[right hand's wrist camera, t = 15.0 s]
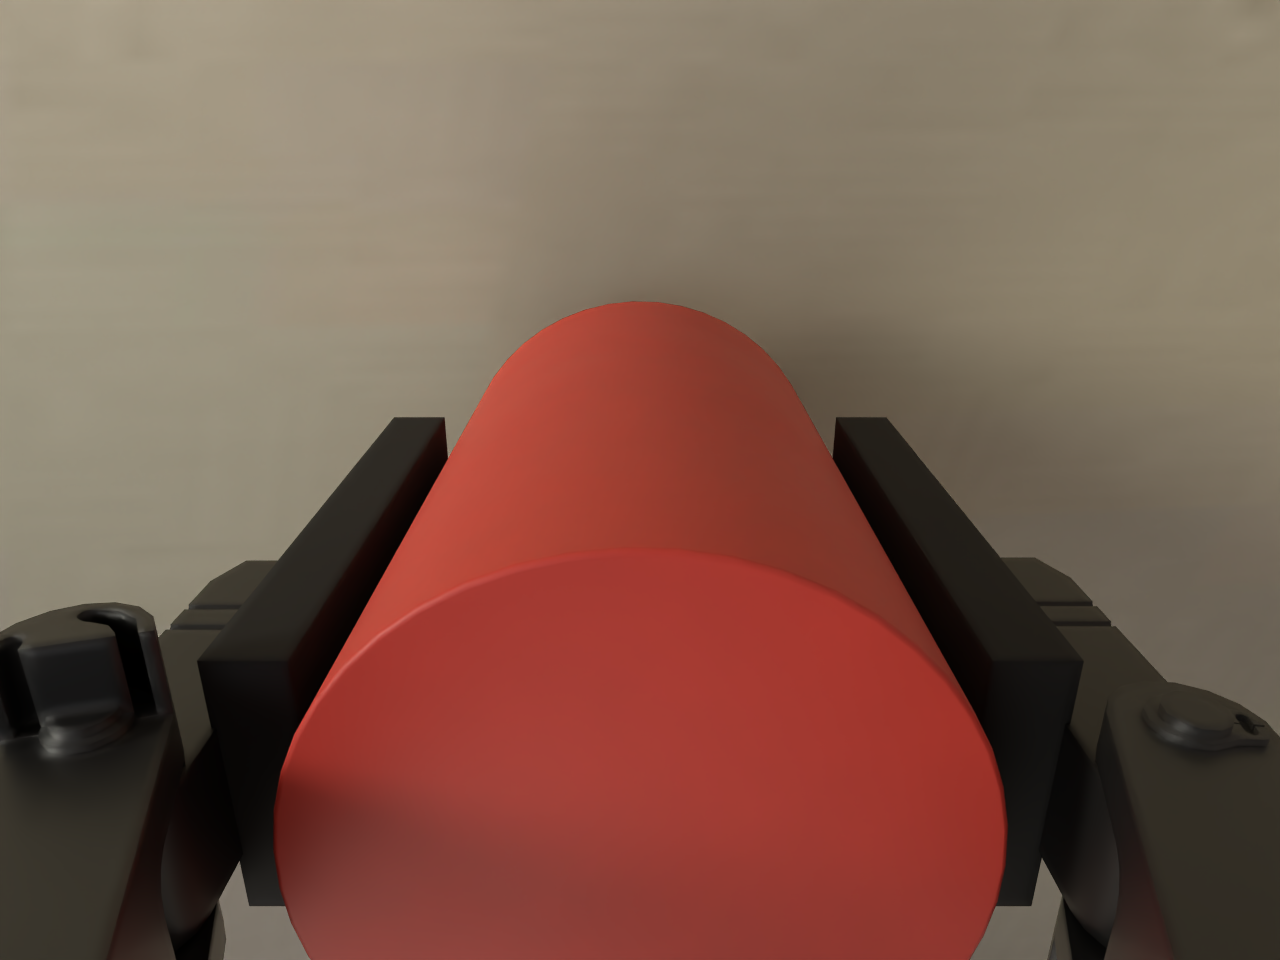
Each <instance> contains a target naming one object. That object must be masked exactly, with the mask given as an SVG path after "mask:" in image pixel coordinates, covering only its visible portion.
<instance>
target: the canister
mask: <svg viewBox="0 0 1280 960" xmlns="http://www.w3.org/2000/svg"><path fill="white" fill-rule="evenodd" d="M1007 832H1008V821H1007V812H1006V803H1005V794H1004V786H1003V783H1002V779H1001V776H1000V773H999V769H998V766H997V762H996V759H995V755H994V752H993V749H992V747H991V745H990V743H989V740H988V738H987V736H986V734H985V732H984V730H983V728H982V726H981V724H980V722H979V720H978V718H977V716H976V714H975V712H974V710H973V708H972V706H971V705H970V703H969V701H968V699H967V697H966V696H965V694H964V692H963V690H962V689H961V687H960V685H959V683H958V681H957V680H956V678H955V676H954V674H953V673H952V671H951V669H950V667H949V665H948V664H947V662H946V660H945V658H944V656H943V655H942V653H941V651H940V649H939V648H938V646H937V644H936V642H935V640H934V639H933V637H932V635H931V633H930V631H929V630H928V628H927V626H926V624H925V623H924V621H923V619H922V617H921V615H920V614H919V612H918V610H917V608H916V606H915V605H914V603H913V601H912V599H911V598H910V596H909V594H908V592H907V590H906V589H905V587H904V585H903V583H902V582H901V580H900V578H899V576H898V574H897V573H896V571H895V569H894V567H893V565H892V564H891V562H890V560H889V558H888V557H887V555H886V553H885V551H884V549H883V548H882V546H881V544H880V542H879V540H878V539H877V537H876V535H875V533H874V532H873V530H872V528H871V526H870V524H869V523H868V521H867V519H866V517H865V515H864V514H863V512H862V510H861V508H860V507H859V505H858V503H857V501H856V499H855V498H854V496H853V494H852V492H851V491H850V489H849V487H848V485H847V483H846V482H845V480H844V478H843V476H842V474H841V473H840V471H839V469H838V467H837V466H836V464H835V462H834V460H833V458H832V457H831V455H830V453H829V451H828V449H827V448H826V446H825V444H824V442H823V441H822V439H821V437H820V435H819V433H818V432H817V430H816V428H815V426H814V424H813V423H812V421H811V419H810V417H809V416H808V414H807V412H806V410H805V408H804V407H803V405H802V403H801V401H800V400H799V398H798V396H797V394H796V392H795V391H794V389H793V387H792V385H791V384H790V382H789V381H788V379H787V378H786V376H785V375H784V374H783V372H782V371H781V369H780V368H779V366H778V365H777V364H776V363H775V362H774V361H773V360H772V359H771V358H770V356H769V355H768V354H767V353H766V352H765V351H764V350H763V349H762V348H761V347H759V346H758V345H757V344H756V343H755V342H753V341H752V340H751V339H750V338H749V337H747V336H746V335H745V334H743V333H742V332H740V331H738V330H737V329H735V328H734V327H732V326H730V325H729V324H727V323H726V322H723V321H721V320H719V319H717V318H714V317H712V316H710V315H708V314H705V313H703V312H700V311H696V310H693V309H689V308H686V307H683V306H678V305H672V304H665V303H659V302H624V303H614V304H607V305H603V306H599V307H595V308H590V309H586V310H583V311H581V312H578V313H576V314H573V315H570V316H568V317H565V318H563V319H561V320H559V321H557V322H556V323H554V324H552V325H550V326H548V327H546V328H545V329H543V330H541V331H540V332H539V333H537V334H536V335H535V336H533V337H532V338H531V339H529V340H528V341H527V342H525V343H524V344H523V345H522V346H521V347H520V348H519V349H518V350H517V351H516V352H515V353H514V354H513V355H512V356H511V357H510V358H509V359H508V360H507V361H506V362H505V363H504V365H503V366H502V367H501V369H500V370H499V371H498V372H497V374H496V375H495V376H494V378H493V380H492V381H491V383H490V385H489V387H488V388H487V390H486V392H485V394H484V395H483V397H482V399H481V401H480V402H479V404H478V406H477V408H476V410H475V411H474V413H473V415H472V417H471V419H470V420H469V422H468V424H467V426H466V428H465V429H464V431H463V433H462V435H461V437H460V438H459V440H458V442H457V444H456V445H455V447H454V449H453V451H452V453H451V454H450V456H449V458H448V460H447V462H446V463H445V465H444V467H443V469H442V471H441V472H440V474H439V476H438V478H437V480H436V481H435V483H434V485H433V487H432V488H431V490H430V492H429V494H428V496H427V497H426V499H425V501H424V503H423V505H422V506H421V508H420V510H419V512H418V514H417V515H416V517H415V519H414V521H413V523H412V524H411V526H410V528H409V530H408V531H407V533H406V535H405V537H404V539H403V540H402V542H401V544H400V546H399V548H398V549H397V551H396V553H395V555H394V557H393V558H392V560H391V562H390V564H389V566H388V567H387V569H386V571H385V573H384V575H383V576H382V578H381V580H380V582H379V583H378V585H377V587H376V589H375V591H374V592H373V594H372V596H371V598H370V600H369V601H368V603H367V605H366V607H365V609H364V610H363V612H362V614H361V616H360V618H359V619H358V621H357V623H356V625H355V626H354V628H353V630H352V632H351V634H350V635H349V637H348V639H347V641H346V643H345V644H344V646H343V648H342V650H341V652H340V653H339V655H338V657H337V659H336V661H335V662H334V664H333V666H332V668H331V669H330V671H329V673H328V675H327V677H326V678H325V680H324V682H323V684H322V686H321V687H320V689H319V691H318V693H317V695H316V696H315V698H314V700H313V702H312V704H311V705H310V707H309V709H308V711H307V712H306V714H305V716H304V718H303V720H302V721H301V723H300V725H299V727H298V729H297V730H296V732H295V734H294V737H293V739H292V742H291V745H290V747H289V750H288V753H287V756H286V758H285V761H284V764H283V767H282V769H281V772H280V778H279V783H278V789H277V794H276V800H275V805H274V824H273V851H274V857H275V864H276V870H277V876H278V882H279V888H280V891H281V894H282V897H283V900H284V903H285V906H286V909H287V912H288V915H289V918H290V921H291V924H292V925H293V927H294V929H295V931H296V933H297V935H298V937H299V939H300V941H301V943H302V945H303V947H304V949H305V951H306V953H307V954H308V956H309V958H310V959H311V960H970V958H971V956H972V954H973V953H974V951H975V949H976V948H977V946H978V944H979V943H980V941H981V939H982V938H983V936H984V933H985V931H986V928H987V926H988V923H989V921H990V919H991V916H992V914H993V911H994V909H995V906H996V904H997V901H998V896H999V892H1000V888H1001V883H1002V879H1003V875H1004V870H1005V866H1006V850H1007Z"/></svg>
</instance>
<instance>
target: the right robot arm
mask: <svg viewBox="0 0 1280 960" xmlns="http://www.w3.org/2000/svg"><path fill="white" fill-rule="evenodd" d="M447 460H448V453H447V441H446V430H445V418H444V417H394V418H393V420H392V421H391V422H390V423H389V425H388V426H387V427H386V428H385V429H384V431H383V432H382V433H381V434H380V436H379V437H378V438H377V439H376V441H375V442H374V443H373V444H372V445H371V447H370V448H369V449H368V450H367V452H366V453H365V454H364V455H363V457H362V458H361V459H360V460H359V462H358V463H357V464H356V465H355V466H354V468H353V469H352V470H351V471H350V473H349V474H348V475H347V476H346V478H345V479H344V480H343V481H342V482H341V484H340V485H339V486H338V487H337V489H336V490H335V491H334V492H333V494H332V495H331V496H330V497H329V498H328V500H327V501H326V502H325V503H324V505H323V506H322V507H321V508H320V510H319V511H318V512H317V513H316V514H315V516H314V517H313V518H312V519H311V521H310V522H309V523H308V524H307V526H306V527H305V528H304V529H303V531H302V532H301V533H300V534H299V535H298V537H297V538H296V539H295V540H294V542H293V543H292V544H291V545H290V547H289V548H288V549H287V550H286V551H285V553H284V554H283V555H282V556H281V558H280V559H279V560H278V561H245V562H243V563H242V564H240V565H238V566H236V567H235V568H233V569H231V570H229V571H228V572H226V573H224V574H222V575H220V576H219V577H217V578H215V579H213V580H212V581H210V582H209V583H208V585H207V586H206V587H205V588H204V589H203V590H202V591H201V592H200V593H199V594H198V595H197V597H196V598H195V599H194V600H193V601H192V602H191V603H190V604H189V610H184V611H183V612H182V613H181V614H180V615H179V616H178V617H177V618H176V619H175V620H174V621H173V623H172V624H171V628H170V630H165V631H164V632H163V633H162V635H161V636H160V637H159V638H158V635H157V630H156V626H155V622H154V617H153V616H152V615H151V614H149V613H148V612H146V611H145V610H144V609H142V608H141V607H139V606H133V605H127V604H122V603H116V602H114V603H94V604H82V605H77V606H72V607H68V608H63V609H58V610H53V611H49V612H46V613H43V614H41V615H38V616H35V617H32V618H30V619H27V620H24V621H21V622H18V623H16V624H14V625H12V626H10V627H9V628H7V629H5V630H3V631H1V632H0V960H223V958H224V951H225V943H226V935H225V928H224V921H223V916H222V912H221V908H220V903H219V898H220V896H221V894H222V892H223V890H224V889H225V887H226V885H227V883H228V881H229V879H230V877H231V875H232V874H233V872H234V870H235V868H236V866H237V864H238V862H239V861H240V865H241V869H242V874H243V879H244V883H245V888H246V893H247V897H248V902H249V906H285V903H284V900H283V897H282V894H281V891H280V888H279V882H278V876H277V870H276V864H275V857H274V851H273V824H274V805H275V800H276V794H277V789H278V783H279V778H280V772H281V769H282V767H283V764H284V761H285V758H286V756H287V753H288V750H289V747H290V745H291V742H292V739H293V737H294V734H295V732H296V730H297V729H298V727H299V725H300V723H301V721H302V720H303V718H304V716H305V714H306V712H307V711H308V709H309V707H310V705H311V704H312V702H313V700H314V698H315V696H316V695H317V693H318V691H319V689H320V687H321V686H322V684H323V682H324V680H325V678H326V677H327V675H328V673H329V671H330V669H331V668H332V666H333V664H334V662H335V661H336V659H337V657H338V655H339V653H340V652H341V650H342V648H343V646H344V644H345V643H346V641H347V639H348V637H349V635H350V634H351V632H352V630H353V628H354V626H355V625H356V623H357V621H358V619H359V618H360V616H361V614H362V612H363V610H364V609H365V607H366V605H367V603H368V601H369V600H370V598H371V596H372V594H373V592H374V591H375V589H376V587H377V585H378V583H379V582H380V580H381V578H382V576H383V575H384V573H385V571H386V569H387V567H388V566H389V564H390V562H391V560H392V558H393V557H394V555H395V553H396V551H397V549H398V548H399V546H400V544H401V542H402V540H403V539H404V537H405V535H406V533H407V531H408V530H409V528H410V526H411V524H412V523H413V521H414V519H415V517H416V515H417V514H418V512H419V510H420V508H421V506H422V505H423V503H424V501H425V499H426V497H427V496H428V494H429V492H430V490H431V488H432V487H433V485H434V483H435V481H436V480H437V478H438V476H439V474H440V472H441V471H442V469H443V467H444V465H445V463H446V462H447ZM833 460H834V462H835V464H836V466H837V467H838V469H839V471H840V473H841V474H842V476H843V478H844V480H845V482H846V483H847V485H848V487H849V489H850V491H851V492H852V494H853V496H854V498H855V499H856V501H857V503H858V505H859V507H860V508H861V510H862V512H863V514H864V515H865V517H866V519H867V521H868V523H869V524H870V526H871V528H872V530H873V532H874V533H875V535H876V537H877V539H878V540H879V542H880V544H881V546H882V548H883V549H884V551H885V553H886V555H887V557H888V558H889V560H890V562H891V564H892V565H893V567H894V569H895V571H896V573H897V574H898V576H899V578H900V580H901V582H902V583H903V585H904V587H905V589H906V590H907V592H908V594H909V596H910V598H911V599H912V601H913V603H914V605H915V606H916V608H917V610H918V612H919V614H920V615H921V617H922V619H923V621H924V623H925V624H926V626H927V628H928V630H929V631H930V633H931V635H932V637H933V639H934V640H935V642H936V644H937V646H938V648H939V649H940V651H941V653H942V655H943V656H944V658H945V660H946V662H947V664H948V665H949V667H950V669H951V671H952V673H953V674H954V676H955V678H956V680H957V681H958V683H959V685H960V687H961V689H962V690H963V692H964V694H965V696H966V697H967V699H968V701H969V703H970V705H971V706H972V708H973V710H974V712H975V714H976V716H977V718H978V720H979V722H980V724H981V726H982V728H983V730H984V732H985V734H986V736H987V738H988V740H989V743H990V745H991V747H992V749H993V752H994V755H995V759H996V762H997V766H998V769H999V773H1000V776H1001V779H1002V783H1003V786H1004V794H1005V803H1006V812H1007V821H1008V832H1007V850H1006V866H1005V870H1004V875H1003V879H1002V883H1001V888H1000V892H999V896H998V901H997V904H996V906H1031V905H1032V900H1033V896H1034V891H1035V886H1036V882H1037V877H1038V872H1039V868H1040V863H1041V858H1043V860H1044V862H1045V864H1046V866H1047V868H1048V869H1049V871H1050V873H1051V875H1052V877H1053V879H1054V881H1055V882H1056V884H1057V886H1058V888H1059V890H1060V892H1061V893H1062V899H1061V903H1060V908H1059V912H1058V916H1057V921H1056V925H1055V929H1054V934H1053V938H1052V942H1051V947H1050V951H1049V955H1048V960H1280V737H1279V736H1278V735H1277V734H1276V733H1275V731H1274V730H1273V729H1272V728H1271V727H1270V726H1269V725H1268V723H1267V722H1266V721H1264V720H1263V719H1261V718H1260V717H1258V716H1257V715H1255V714H1254V713H1252V712H1251V711H1249V710H1248V709H1246V708H1245V707H1243V706H1242V705H1240V704H1238V703H1236V702H1233V701H1231V700H1228V699H1226V698H1224V697H1221V696H1219V695H1217V694H1214V693H1212V692H1210V691H1207V690H1203V689H1199V688H1194V687H1190V686H1186V685H1182V684H1178V683H1171V682H1167V681H1166V680H1165V679H1164V678H1163V677H1162V676H1161V675H1160V674H1159V673H1158V672H1157V670H1156V669H1155V668H1154V667H1153V666H1152V665H1151V664H1150V663H1149V662H1148V661H1147V660H1146V659H1145V658H1144V656H1143V655H1142V654H1141V653H1140V652H1139V651H1138V650H1137V649H1136V648H1135V647H1134V646H1133V645H1132V644H1131V642H1130V641H1129V640H1128V639H1127V638H1126V637H1125V636H1124V635H1123V634H1122V633H1121V632H1120V631H1119V630H1118V628H1117V627H1116V626H1111V621H1110V620H1109V619H1108V618H1107V617H1106V616H1105V614H1104V613H1103V612H1102V611H1101V610H1100V609H1099V608H1098V607H1097V606H1093V604H1092V600H1091V599H1090V598H1089V597H1088V596H1087V595H1086V594H1085V593H1084V592H1083V591H1082V590H1081V589H1080V588H1079V586H1078V585H1077V584H1076V583H1075V582H1074V581H1073V580H1072V579H1071V578H1070V577H1068V576H1066V575H1065V574H1063V573H1061V572H1059V571H1057V570H1056V569H1054V568H1052V567H1050V566H1049V565H1047V564H1045V563H1043V562H1041V561H1040V560H1038V559H1036V558H1000V557H999V556H998V554H997V553H996V552H995V551H994V549H993V548H992V547H991V546H990V544H989V543H988V542H987V541H986V540H985V538H984V537H983V536H982V535H981V533H980V532H979V531H978V530H977V528H976V527H975V526H974V525H973V524H972V522H971V521H970V520H969V519H968V517H967V516H966V515H965V514H964V512H963V511H962V510H961V509H960V508H959V506H958V505H957V504H956V503H955V501H954V500H953V499H952V498H951V496H950V495H949V494H948V493H947V491H946V490H945V489H944V488H943V487H942V485H941V484H940V483H939V482H938V480H937V479H936V478H935V477H934V475H933V474H932V473H931V472H930V471H929V469H928V468H927V467H926V466H925V464H924V463H923V462H922V461H921V459H920V458H919V457H918V456H917V455H916V453H915V452H914V451H913V450H912V448H911V447H910V446H909V445H908V443H907V442H906V441H905V440H904V439H903V437H902V436H901V435H900V434H899V432H898V431H897V430H896V429H895V427H894V426H893V425H892V424H891V423H890V421H889V420H888V419H887V418H886V417H836V425H835V437H834V449H833Z"/></svg>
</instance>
